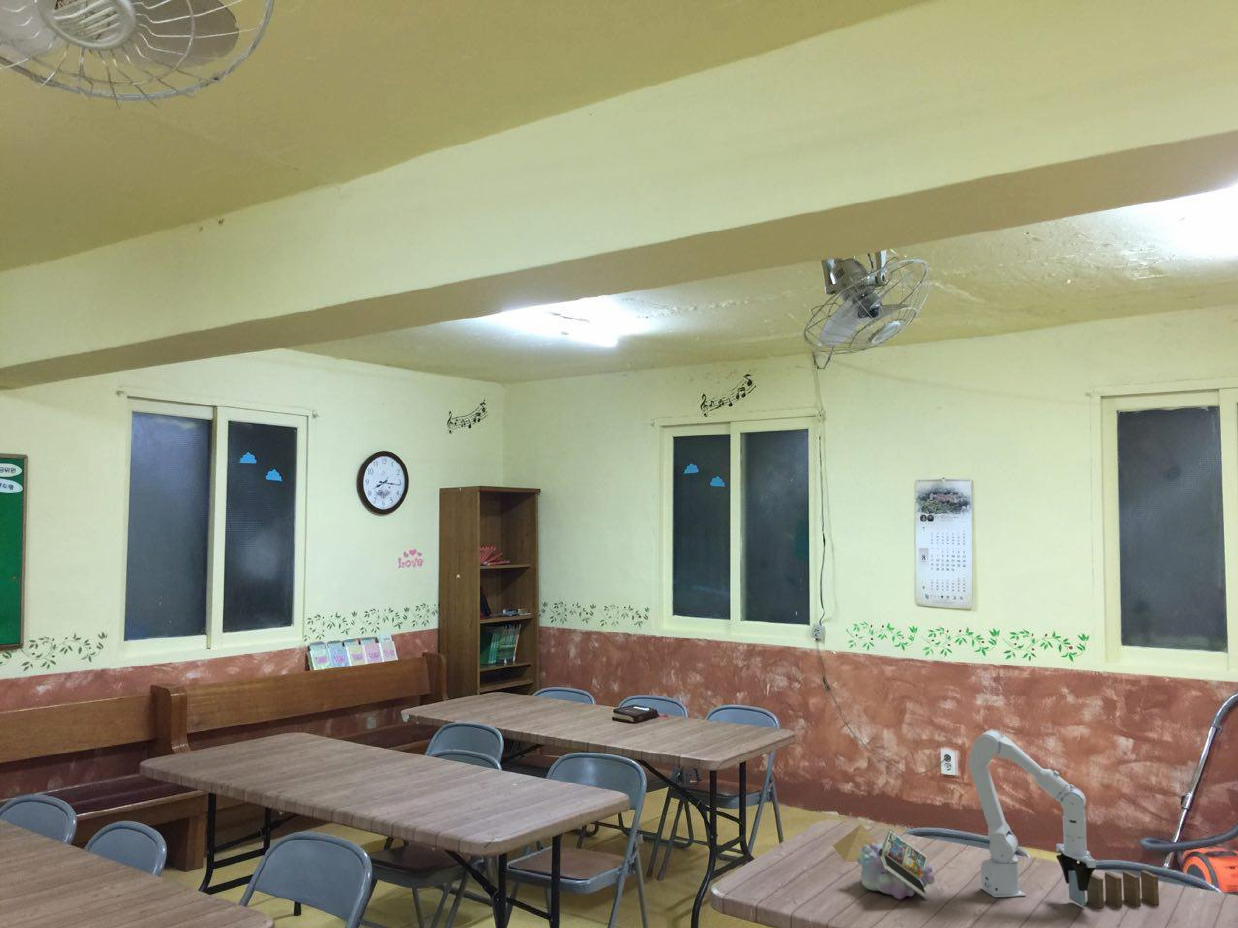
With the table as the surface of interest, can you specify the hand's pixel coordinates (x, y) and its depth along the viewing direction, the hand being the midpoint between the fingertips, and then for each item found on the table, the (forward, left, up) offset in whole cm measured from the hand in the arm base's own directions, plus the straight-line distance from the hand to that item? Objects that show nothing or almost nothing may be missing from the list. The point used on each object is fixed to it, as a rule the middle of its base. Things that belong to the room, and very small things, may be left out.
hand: (1076, 886), depth 261 cm
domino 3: (+11, 0, -5) cm, 12 cm away
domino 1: (0, 0, -4) cm, 4 cm away
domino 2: (+6, 0, -5) cm, 7 cm away
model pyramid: (-41, +49, -6) cm, 64 cm away
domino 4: (+17, 0, -5) cm, 17 cm away
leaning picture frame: (-44, +17, -5) cm, 47 cm away
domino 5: (+22, 0, -5) cm, 23 cm away
